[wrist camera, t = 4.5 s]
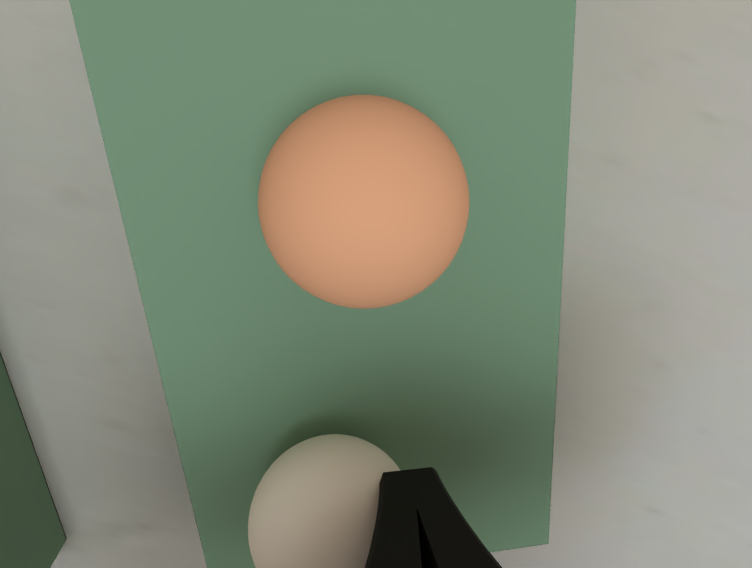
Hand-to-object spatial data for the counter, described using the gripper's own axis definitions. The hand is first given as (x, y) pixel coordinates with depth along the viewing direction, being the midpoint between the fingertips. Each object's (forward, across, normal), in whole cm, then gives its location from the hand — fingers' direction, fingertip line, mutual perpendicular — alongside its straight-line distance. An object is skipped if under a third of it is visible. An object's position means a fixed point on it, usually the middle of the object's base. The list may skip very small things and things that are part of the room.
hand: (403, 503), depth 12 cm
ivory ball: (0, +2, 0) cm, 2 cm away
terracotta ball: (0, 0, -7) cm, 7 cm away
